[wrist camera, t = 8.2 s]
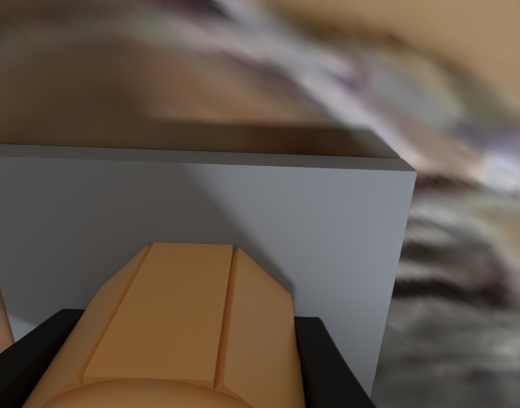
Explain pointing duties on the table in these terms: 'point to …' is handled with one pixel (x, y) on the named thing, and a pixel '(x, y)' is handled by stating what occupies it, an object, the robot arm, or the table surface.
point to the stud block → (207, 228)
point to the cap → (180, 337)
